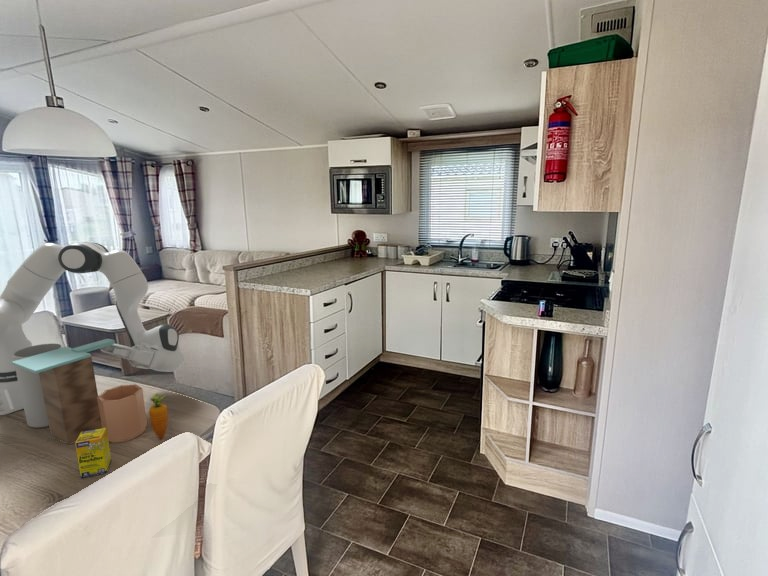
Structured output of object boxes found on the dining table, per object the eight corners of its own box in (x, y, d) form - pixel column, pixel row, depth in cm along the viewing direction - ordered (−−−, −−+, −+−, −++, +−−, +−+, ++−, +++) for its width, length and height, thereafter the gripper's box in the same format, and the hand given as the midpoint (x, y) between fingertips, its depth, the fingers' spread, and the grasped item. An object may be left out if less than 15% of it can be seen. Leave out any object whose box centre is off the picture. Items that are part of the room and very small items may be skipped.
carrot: (158, 434, 126) (153, 391, 123) (173, 434, 126) (168, 391, 123) (149, 443, 121) (142, 398, 118) (165, 443, 121) (159, 399, 118)
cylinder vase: (71, 422, 133) (58, 352, 127) (23, 432, 126) (7, 360, 121) (77, 405, 143) (65, 341, 138) (32, 415, 137) (18, 347, 132)
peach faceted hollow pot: (98, 444, 121) (91, 402, 118) (116, 424, 131) (110, 385, 128) (136, 441, 122) (130, 399, 119) (151, 421, 133) (146, 383, 130)
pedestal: (86, 421, 133) (73, 348, 128) (103, 428, 129) (91, 354, 123) (51, 436, 125) (36, 359, 119) (68, 444, 120) (53, 365, 115)
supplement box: (80, 479, 105) (74, 443, 103) (87, 466, 111) (80, 431, 108) (107, 473, 108) (101, 438, 105) (112, 460, 113) (106, 426, 111)
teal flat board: (99, 339, 136) (99, 336, 136) (124, 346, 130) (123, 342, 130) (11, 364, 116) (11, 360, 115) (36, 373, 109) (35, 369, 109)
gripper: (128, 342, 149) (90, 334, 137) (163, 351, 140) (126, 343, 128) (121, 358, 147) (82, 351, 135) (156, 369, 138) (118, 362, 126)
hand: (104, 348), depth 132 cm, fingers open, 8 cm apart
